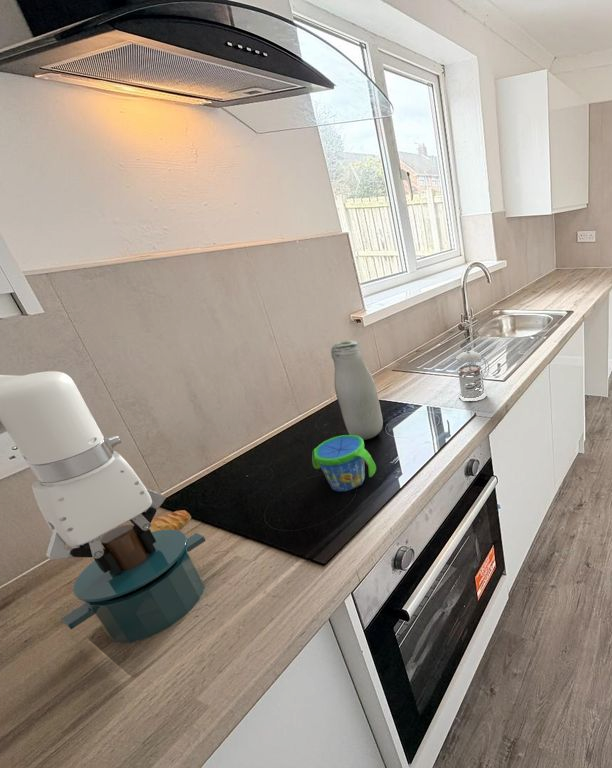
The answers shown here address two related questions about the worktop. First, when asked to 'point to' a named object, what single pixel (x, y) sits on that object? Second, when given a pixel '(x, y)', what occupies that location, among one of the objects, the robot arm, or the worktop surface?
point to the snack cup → (343, 461)
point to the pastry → (170, 521)
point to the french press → (469, 389)
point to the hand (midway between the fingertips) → (131, 559)
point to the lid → (129, 563)
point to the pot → (148, 602)
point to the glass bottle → (356, 391)
